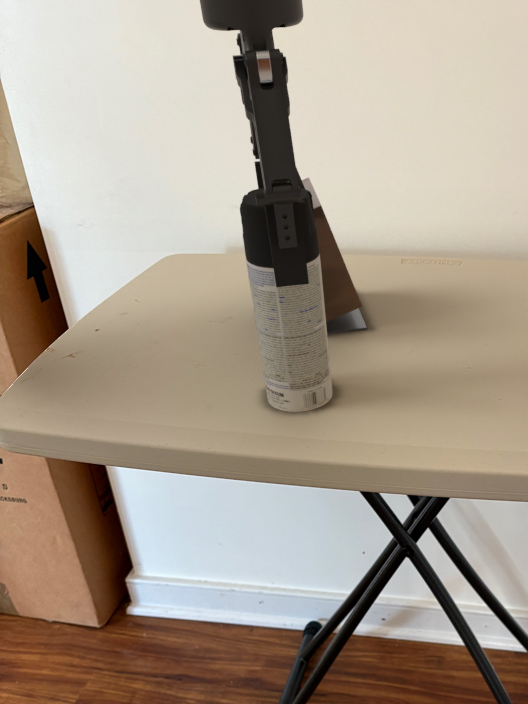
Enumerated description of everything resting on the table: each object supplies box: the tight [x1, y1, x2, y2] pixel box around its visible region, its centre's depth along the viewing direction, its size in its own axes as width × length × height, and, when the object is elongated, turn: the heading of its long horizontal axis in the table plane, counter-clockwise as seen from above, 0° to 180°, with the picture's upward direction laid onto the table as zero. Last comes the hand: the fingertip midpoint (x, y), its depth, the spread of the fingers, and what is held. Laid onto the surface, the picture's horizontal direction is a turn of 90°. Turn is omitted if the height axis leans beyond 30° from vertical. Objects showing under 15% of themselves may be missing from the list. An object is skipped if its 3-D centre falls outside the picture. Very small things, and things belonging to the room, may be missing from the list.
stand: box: [326, 308, 368, 335], centre depth 93 cm, size 8×12×1 cm, turn 12°
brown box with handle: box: [296, 167, 363, 322], centre depth 85 cm, size 8×12×21 cm, turn 12°
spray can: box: [239, 188, 333, 413], centre depth 71 cm, size 7×7×20 cm
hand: (285, 257), depth 68 cm, fingers open, 13 cm apart
